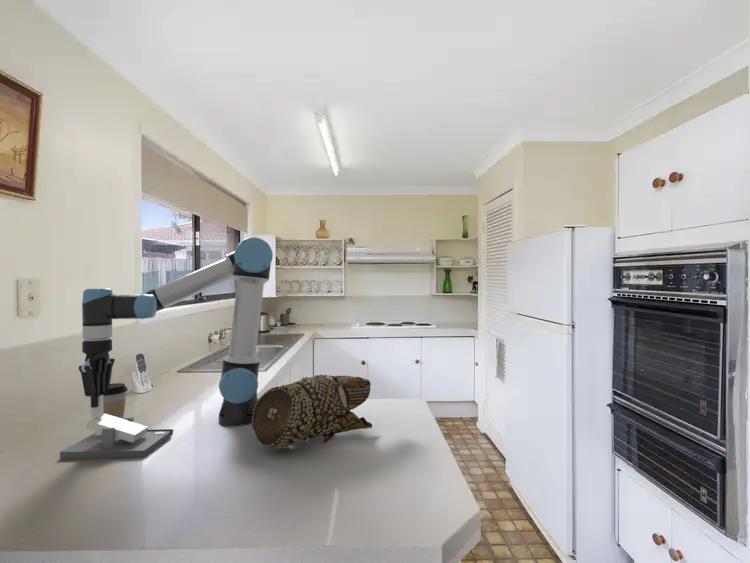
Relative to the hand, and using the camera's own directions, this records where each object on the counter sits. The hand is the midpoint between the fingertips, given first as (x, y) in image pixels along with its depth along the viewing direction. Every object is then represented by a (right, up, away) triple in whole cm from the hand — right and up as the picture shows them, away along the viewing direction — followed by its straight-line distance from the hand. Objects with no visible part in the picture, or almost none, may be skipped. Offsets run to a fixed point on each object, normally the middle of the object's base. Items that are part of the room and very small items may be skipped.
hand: (97, 416), depth 123 cm
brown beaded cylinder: (+66, -9, +5) cm, 67 cm away
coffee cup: (-6, -10, +16) cm, 19 cm away
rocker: (+6, -4, 0) cm, 7 cm away
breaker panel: (+6, -9, 0) cm, 11 cm away
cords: (+9, -9, +10) cm, 17 cm away
